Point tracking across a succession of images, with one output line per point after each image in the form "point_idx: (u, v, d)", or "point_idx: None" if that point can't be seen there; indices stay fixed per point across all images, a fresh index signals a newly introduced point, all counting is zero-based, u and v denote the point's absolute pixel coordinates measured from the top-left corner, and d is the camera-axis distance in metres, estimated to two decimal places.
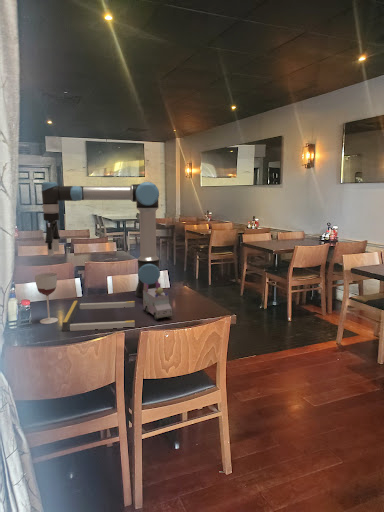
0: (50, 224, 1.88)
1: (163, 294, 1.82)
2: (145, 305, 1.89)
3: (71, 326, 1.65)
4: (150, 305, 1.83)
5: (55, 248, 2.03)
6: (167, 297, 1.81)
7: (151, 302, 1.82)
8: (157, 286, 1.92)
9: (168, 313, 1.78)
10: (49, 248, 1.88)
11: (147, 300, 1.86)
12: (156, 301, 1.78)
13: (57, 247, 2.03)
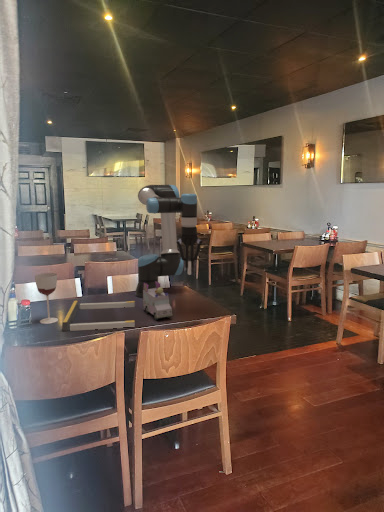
0: (176, 242, 1.81)
1: (163, 294, 1.82)
2: (145, 305, 1.89)
3: (71, 326, 1.65)
4: (150, 305, 1.83)
5: None
6: (167, 297, 1.81)
7: (151, 303, 1.82)
8: (157, 286, 1.92)
9: (168, 313, 1.78)
10: None
11: (147, 300, 1.86)
12: (155, 301, 1.78)
13: None
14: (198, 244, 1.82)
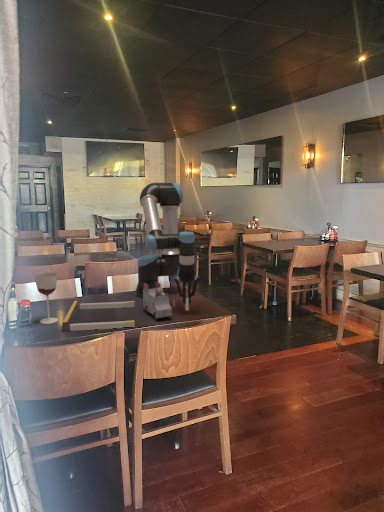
0: (174, 279, 1.84)
1: (163, 294, 1.82)
2: (145, 305, 1.89)
3: (71, 326, 1.65)
4: (150, 305, 1.83)
5: None
6: (167, 297, 1.81)
7: (151, 302, 1.82)
8: (157, 286, 1.92)
9: (168, 313, 1.78)
10: (183, 302, 1.87)
11: (147, 300, 1.86)
12: (155, 301, 1.78)
13: None
14: (195, 281, 1.85)
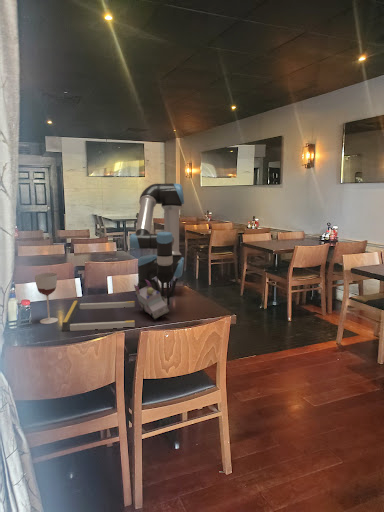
0: (152, 280, 1.82)
1: (155, 292, 1.80)
2: (142, 306, 1.89)
3: (71, 326, 1.65)
4: (146, 306, 1.82)
5: None
6: (159, 295, 1.79)
7: (145, 304, 1.81)
8: (148, 284, 1.89)
9: (164, 310, 1.77)
10: None
11: (142, 301, 1.85)
12: (149, 302, 1.77)
13: None
14: (174, 281, 1.84)
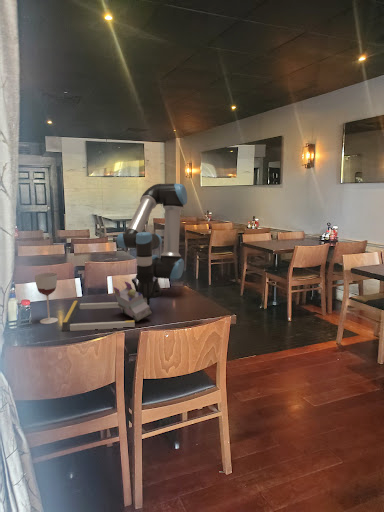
0: (132, 281, 1.81)
1: (136, 294, 1.77)
2: (122, 308, 1.85)
3: (71, 326, 1.65)
4: (127, 308, 1.78)
5: None
6: (141, 296, 1.76)
7: (127, 306, 1.77)
8: (128, 286, 1.86)
9: (147, 312, 1.75)
10: None
11: (122, 304, 1.81)
12: (131, 304, 1.74)
13: None
14: (154, 282, 1.82)
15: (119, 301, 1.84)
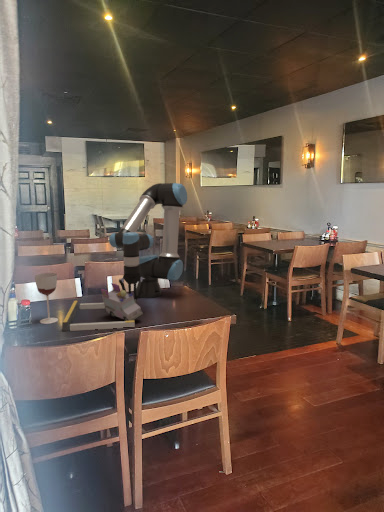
0: (119, 281, 1.80)
1: (127, 295, 1.76)
2: (109, 310, 1.81)
3: (71, 326, 1.65)
4: (117, 310, 1.76)
5: None
6: (132, 297, 1.75)
7: (117, 308, 1.75)
8: (115, 288, 1.83)
9: (138, 313, 1.74)
10: None
11: (111, 305, 1.78)
12: (123, 306, 1.72)
13: None
14: (141, 283, 1.81)
15: (107, 303, 1.80)
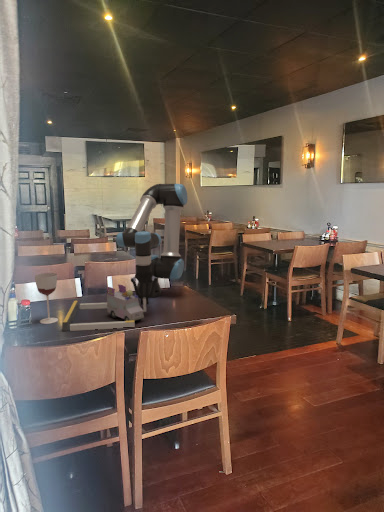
0: (131, 280, 1.81)
1: (132, 297, 1.78)
2: (110, 310, 1.82)
3: (71, 326, 1.65)
4: (119, 309, 1.77)
5: None
6: (137, 299, 1.77)
7: (120, 306, 1.76)
8: (121, 289, 1.86)
9: (140, 315, 1.75)
10: None
11: (114, 304, 1.79)
12: (127, 305, 1.73)
13: None
14: (153, 281, 1.82)
15: (110, 302, 1.81)
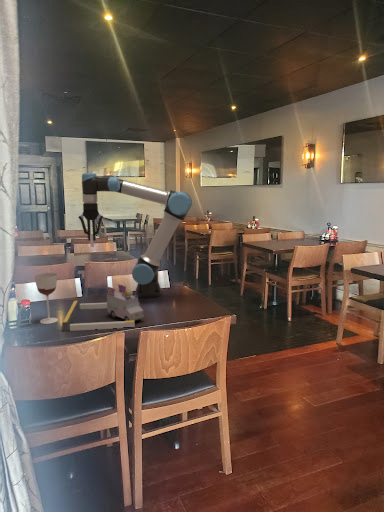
0: (79, 217, 2.00)
1: (132, 297, 1.78)
2: (110, 310, 1.82)
3: (71, 326, 1.65)
4: (119, 309, 1.77)
5: None
6: (137, 299, 1.77)
7: (120, 306, 1.76)
8: (121, 289, 1.86)
9: (140, 315, 1.75)
10: (88, 239, 2.04)
11: (114, 304, 1.79)
12: (127, 305, 1.73)
13: None
14: (99, 219, 2.01)
15: (110, 302, 1.81)
